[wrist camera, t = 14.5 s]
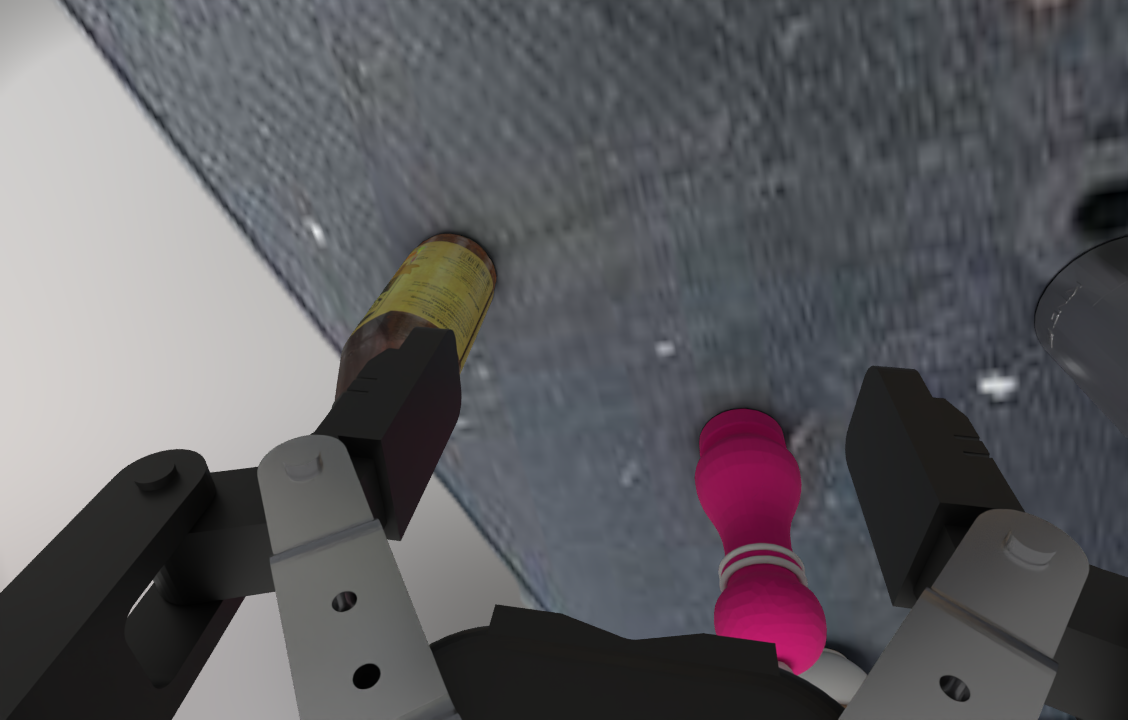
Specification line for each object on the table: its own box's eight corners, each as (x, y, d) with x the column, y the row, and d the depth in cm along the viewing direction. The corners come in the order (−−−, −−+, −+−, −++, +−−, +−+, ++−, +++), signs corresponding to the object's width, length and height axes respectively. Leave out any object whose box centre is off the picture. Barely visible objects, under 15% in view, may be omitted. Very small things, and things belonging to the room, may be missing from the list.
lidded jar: (870, 628, 59) (902, 732, 51) (878, 693, 64) (908, 797, 56) (751, 636, 62) (764, 737, 54) (768, 698, 67) (782, 797, 59)
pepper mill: (807, 419, 47) (885, 679, 30) (764, 485, 51) (812, 747, 35) (714, 390, 47) (742, 638, 30) (678, 459, 51) (685, 711, 34)
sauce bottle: (409, 223, 43) (250, 402, 26) (501, 235, 42) (398, 425, 26) (414, 308, 46) (276, 513, 30) (498, 321, 46) (406, 534, 29)
